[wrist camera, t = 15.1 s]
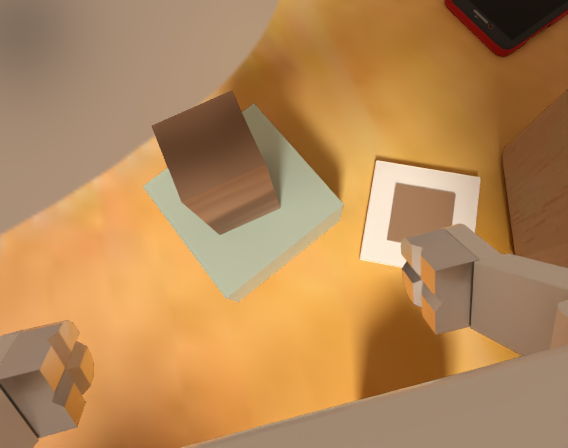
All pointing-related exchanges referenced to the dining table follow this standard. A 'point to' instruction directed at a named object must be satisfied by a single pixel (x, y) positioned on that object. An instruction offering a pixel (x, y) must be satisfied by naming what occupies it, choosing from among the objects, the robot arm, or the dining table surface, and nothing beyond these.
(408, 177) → the card
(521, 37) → the cell phone
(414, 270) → the robot arm
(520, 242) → the wooden block
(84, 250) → the dining table surface
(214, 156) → the walnut block
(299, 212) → the base block
